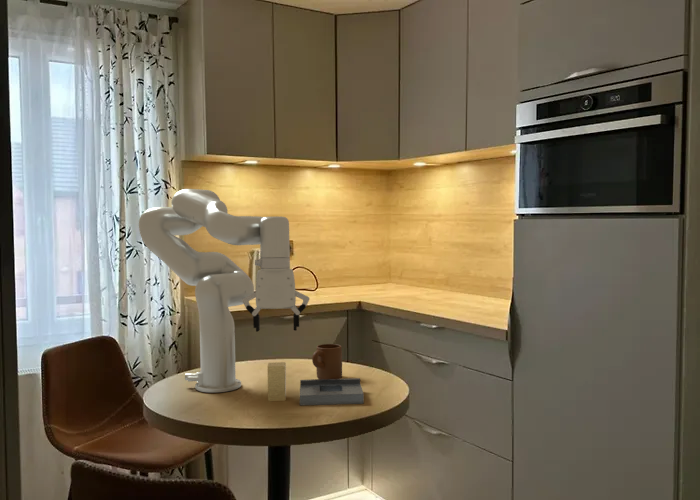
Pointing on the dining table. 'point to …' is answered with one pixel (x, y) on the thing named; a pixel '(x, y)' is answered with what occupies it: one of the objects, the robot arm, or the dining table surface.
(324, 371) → the mug
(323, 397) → the jig
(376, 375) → the dining table surface
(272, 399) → the tan cardboard box
